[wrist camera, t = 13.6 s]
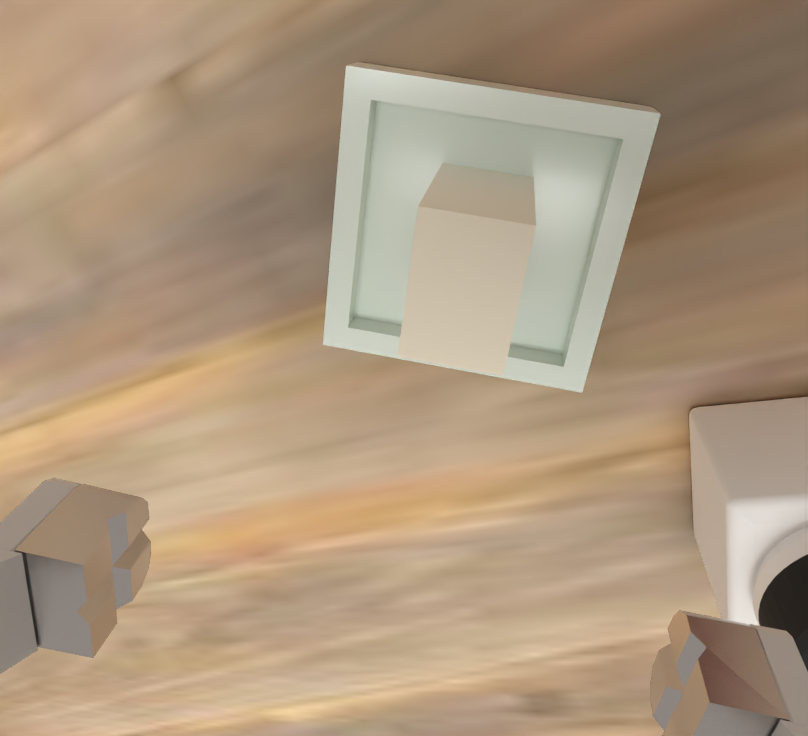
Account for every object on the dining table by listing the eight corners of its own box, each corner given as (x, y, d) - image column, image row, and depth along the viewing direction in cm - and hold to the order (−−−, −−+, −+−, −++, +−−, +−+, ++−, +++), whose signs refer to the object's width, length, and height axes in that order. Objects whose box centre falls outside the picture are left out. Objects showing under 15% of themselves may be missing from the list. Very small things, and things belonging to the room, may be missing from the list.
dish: (650, 106, 26) (660, 113, 24) (578, 369, 31) (582, 392, 29) (358, 61, 27) (346, 65, 25) (335, 324, 32) (322, 344, 30)
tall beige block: (534, 177, 27) (537, 225, 21) (508, 299, 29) (504, 376, 23) (442, 162, 27) (417, 205, 21) (423, 284, 29) (396, 356, 23)
